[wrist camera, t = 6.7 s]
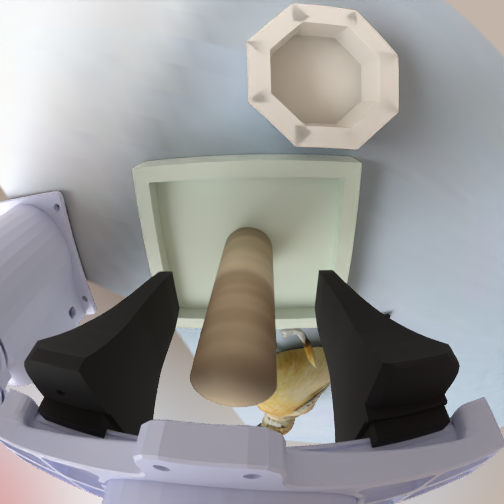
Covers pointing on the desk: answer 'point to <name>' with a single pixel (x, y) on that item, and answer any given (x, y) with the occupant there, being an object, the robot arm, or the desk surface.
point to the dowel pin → (239, 326)
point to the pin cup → (323, 76)
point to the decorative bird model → (295, 384)
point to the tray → (249, 223)
